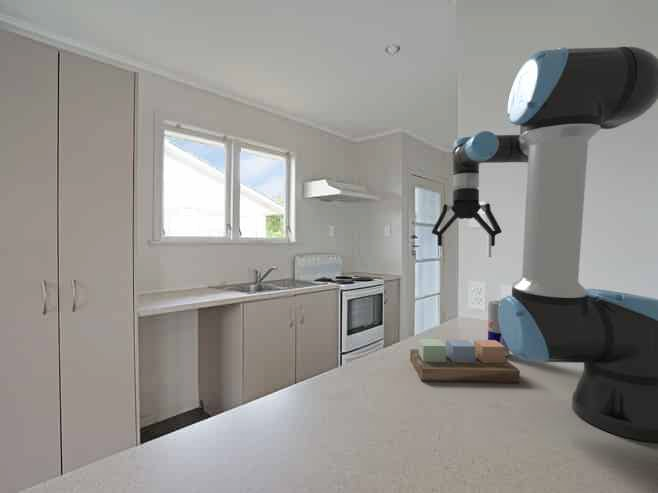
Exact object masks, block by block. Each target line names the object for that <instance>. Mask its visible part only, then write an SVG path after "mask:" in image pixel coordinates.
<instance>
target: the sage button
mask: <svg viewBox="0 0 658 493" xmlns="http://www.w3.org/2000/svg"><path fill="white" fill-rule="evenodd" d="M418 349H419V356H420V358H421V359H422V361H423V362H446V343H444V342H443V340H441V339H439V338H438V339H434V338H432V339H428V338H422V339H421V338H419V339H418Z"/></svg>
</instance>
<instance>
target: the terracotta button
mask: <svg viewBox="0 0 658 493" xmlns="http://www.w3.org/2000/svg"><path fill="white" fill-rule="evenodd" d="M473 345H474V346H476V351H475V357H476V358H477V359H478V360H479V361H480V362H482V363H505V360H506V356H505V346H503V345H502V344H500V343H499V342H497V341H496V340H488V339H473Z"/></svg>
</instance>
